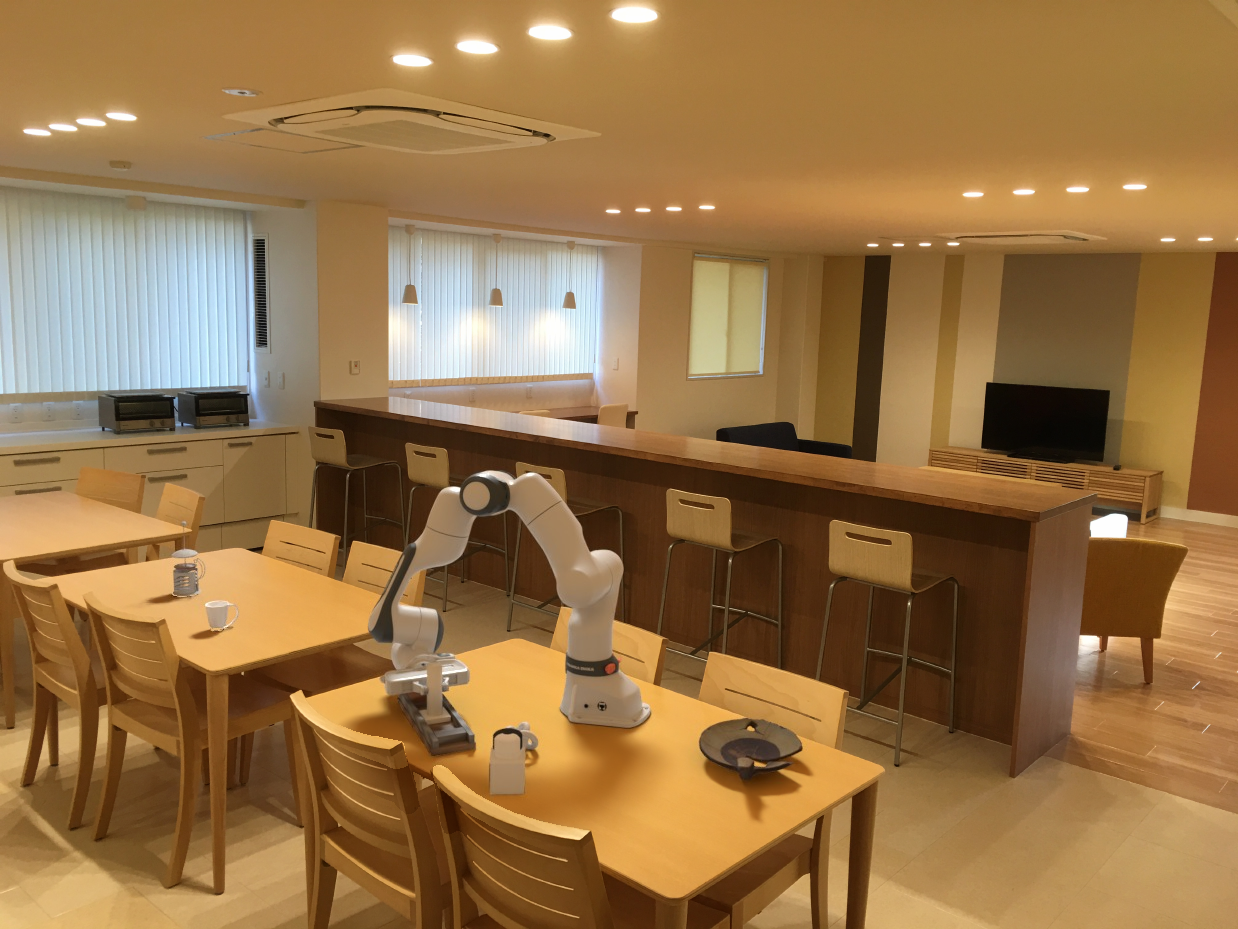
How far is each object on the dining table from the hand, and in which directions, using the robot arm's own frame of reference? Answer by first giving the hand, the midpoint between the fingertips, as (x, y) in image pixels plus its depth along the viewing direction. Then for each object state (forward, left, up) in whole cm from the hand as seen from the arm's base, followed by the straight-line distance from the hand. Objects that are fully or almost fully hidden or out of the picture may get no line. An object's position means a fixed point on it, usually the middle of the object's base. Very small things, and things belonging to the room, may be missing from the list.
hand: (435, 690), depth 227 cm
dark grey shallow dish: (-72, -11, -9) cm, 73 cm away
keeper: (+1, -1, -7) cm, 7 cm away
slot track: (+1, -1, -9) cm, 9 cm away
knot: (-24, +3, -9) cm, 26 cm away
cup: (+97, -33, -9) cm, 103 cm away
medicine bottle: (-29, +19, -9) cm, 36 cm away
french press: (+134, -56, -9) cm, 145 cm away
